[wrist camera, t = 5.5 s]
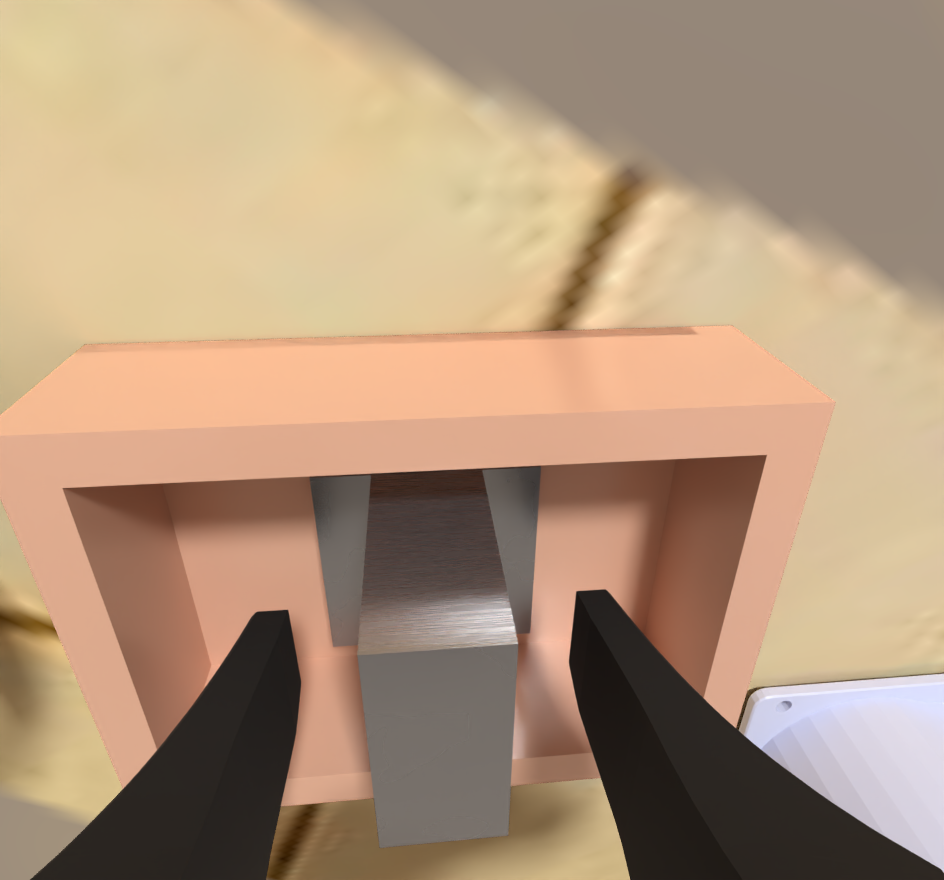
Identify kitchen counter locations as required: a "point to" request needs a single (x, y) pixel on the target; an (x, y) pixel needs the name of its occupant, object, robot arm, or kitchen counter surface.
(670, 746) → the robot arm
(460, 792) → the grey metal t-piece
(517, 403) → the salmon pink open box
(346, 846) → the kitchen counter surface
